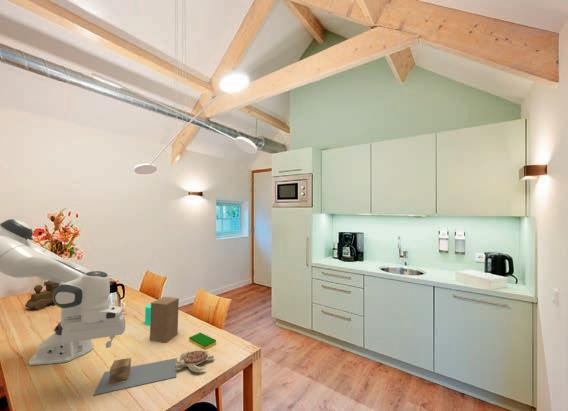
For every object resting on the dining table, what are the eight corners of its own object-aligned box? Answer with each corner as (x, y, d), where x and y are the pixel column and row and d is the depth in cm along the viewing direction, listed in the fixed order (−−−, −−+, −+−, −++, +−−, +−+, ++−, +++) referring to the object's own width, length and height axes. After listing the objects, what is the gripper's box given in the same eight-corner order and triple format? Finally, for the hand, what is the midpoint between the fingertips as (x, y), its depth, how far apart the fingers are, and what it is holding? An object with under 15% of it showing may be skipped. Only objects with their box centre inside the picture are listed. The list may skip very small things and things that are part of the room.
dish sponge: (200, 336, 135) (200, 332, 135) (216, 344, 127) (216, 340, 127) (188, 342, 129) (188, 337, 129) (204, 350, 121) (204, 345, 121)
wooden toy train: (58, 300, 186) (59, 278, 186) (68, 302, 182) (69, 279, 183) (23, 309, 167) (24, 285, 167) (33, 312, 163) (34, 287, 164)
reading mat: (93, 395, 89) (93, 394, 89) (104, 372, 102) (104, 371, 102) (176, 377, 100) (176, 376, 100) (177, 358, 113) (177, 357, 113)
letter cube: (109, 384, 95) (109, 369, 95) (113, 375, 100) (114, 360, 100) (127, 381, 97) (127, 365, 97) (130, 372, 102) (130, 357, 103)
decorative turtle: (167, 361, 110) (167, 350, 110) (201, 349, 122) (202, 338, 122) (183, 381, 97) (184, 368, 97) (220, 365, 109) (221, 354, 109)
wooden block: (165, 343, 127) (167, 304, 127) (149, 340, 129) (150, 302, 129) (177, 334, 136) (179, 297, 137) (162, 332, 138) (163, 296, 139)
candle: (142, 324, 148) (143, 304, 148) (150, 320, 153) (151, 301, 154) (149, 326, 146) (150, 305, 146) (158, 322, 151) (158, 302, 152)
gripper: (58, 320, 89) (56, 359, 89) (123, 312, 97) (122, 348, 96) (65, 314, 95) (64, 350, 94) (126, 307, 103) (126, 340, 102)
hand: (94, 349), depth 95 cm, fingers open, 8 cm apart
